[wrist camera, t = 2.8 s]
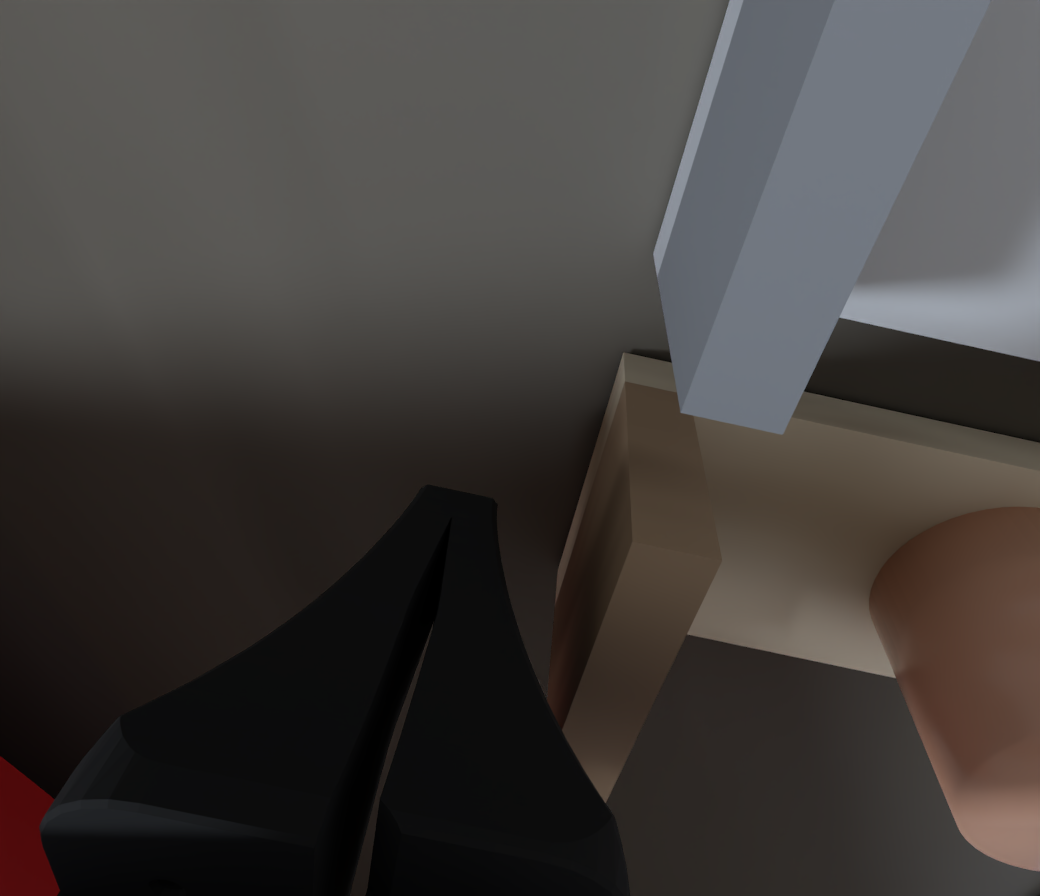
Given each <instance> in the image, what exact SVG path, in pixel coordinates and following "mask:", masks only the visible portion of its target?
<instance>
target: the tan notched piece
mask: <svg viewBox="0 0 1040 896" xmlns="http://www.w3.org/2000/svg"><path fill="white" fill-rule="evenodd" d="M1000 507H1036V508H1040V443H1038V442H1034V441H1029V440H1024V439H1020V438H1015V437H1011V436H1006V435H1001V434H997V433H992V432H988V431H983V430H978V429H974V428H969V427H965V426H960V425H955V424H951V423H946V422H942V421H937V420H932V419H928V418H923V417H919V416H914V415H910V414H905V413H900V412H896V411H891V410H887V409H882V408H877V407H873V406H868V405H864V404H859V403H854V402H850V401H845V400H841V399H836V398H831V397H827V396H822V395H818V394H813V393H808V392H803V394H802V396H801V398H800V400H799V402H798V404H797V406H796V408H795V410H794V412H793V415H792V417H791V419H790V421H789V423H788V425H787V427H786V429H785V431H784V433H783V435H781V434H776V433H772V432H767V431H762V430H758V429H753V428H748V427H744V426H739V425H735V424H730V423H725V422H721V421H716V420H711V419H707V418H702V417H698V416H693V415H688V414H684V413H681V412H680V407H679V401H678V395H677V389H676V383H675V378H674V372H673V366H672V363H671V362H666V361H661V360H657V359H652V358H648V357H643V356H638V355H634V354H629V353H625V352H623V356H622V359H621V362H620V366H619V369H618V372H617V375H616V379H615V382H614V385H613V389H612V392H611V395H610V399H609V402H608V405H607V409H606V412H605V415H604V419H603V422H602V425H601V428H600V432H599V435H598V438H597V442H596V445H595V448H594V452H593V455H592V458H591V462H590V465H589V468H588V472H587V475H586V478H585V481H584V485H583V488H582V491H581V495H580V498H579V501H578V505H577V508H576V511H575V515H574V518H573V521H572V525H571V528H570V531H569V534H568V538H567V541H566V544H565V548H564V551H563V554H562V558H561V561H560V564H559V568H558V573H557V585H556V597H555V609H554V622H553V634H552V646H551V659H550V671H549V683H548V696H547V702H548V704H549V706H550V708H551V710H552V712H553V714H554V716H555V718H556V720H557V722H558V724H559V726H560V728H561V730H562V732H563V734H564V736H565V738H566V739H567V741H568V743H569V745H570V746H571V748H572V750H573V752H574V753H575V755H576V757H577V759H578V760H579V762H580V764H581V765H582V767H583V769H584V771H585V772H586V774H587V775H588V777H589V779H590V780H591V782H592V783H593V785H594V786H595V788H596V790H597V791H598V793H599V794H600V796H601V797H602V799H603V800H604V802H605V803H606V802H607V800H608V798H609V795H610V793H611V791H612V789H613V787H614V785H615V783H616V781H617V779H618V777H619V775H620V773H621V770H622V768H623V766H624V764H625V762H626V760H627V758H628V756H629V754H630V752H631V750H632V748H633V745H634V743H635V741H636V739H637V737H638V735H639V733H640V731H641V729H642V727H643V725H644V723H645V721H646V718H647V716H648V714H649V712H650V710H651V708H652V706H653V704H654V702H655V700H656V698H657V696H658V693H659V691H660V689H661V687H662V685H663V683H664V681H665V679H666V677H667V675H668V673H669V671H670V668H671V666H672V664H673V662H674V660H675V658H676V656H677V654H678V652H679V650H680V648H681V646H682V643H683V641H684V639H685V637H686V635H692V636H697V637H702V638H706V639H711V640H716V641H721V642H725V643H730V644H735V645H740V646H744V647H749V648H754V649H759V650H764V651H768V652H773V653H778V654H783V655H787V656H792V657H797V658H802V659H806V660H811V661H816V662H821V663H826V664H830V665H835V666H840V667H845V668H849V669H854V670H859V671H864V672H869V673H873V674H878V675H883V676H888V677H892V678H896V677H895V675H894V672H893V670H892V667H891V665H890V663H889V660H888V658H887V655H886V653H885V651H884V648H883V646H882V643H881V641H880V638H879V636H878V634H877V631H876V629H875V626H874V624H873V622H872V619H871V615H870V611H869V597H870V592H871V588H872V585H873V583H874V580H875V578H876V576H877V575H878V573H879V571H880V569H881V568H882V567H883V565H884V564H885V563H886V562H887V560H888V559H889V558H890V557H891V556H892V555H893V554H894V553H895V552H896V551H897V550H898V549H899V548H901V547H902V546H903V545H904V544H906V543H907V542H908V541H909V540H911V539H912V538H914V537H916V536H917V535H919V534H920V533H922V532H924V531H925V530H927V529H929V528H931V527H933V526H935V525H937V524H940V523H942V522H944V521H947V520H949V519H952V518H955V517H958V516H961V515H964V514H967V513H972V512H976V511H981V510H985V509H993V508H1000Z"/></svg>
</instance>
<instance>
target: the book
mask: <svg viewBox="0 0 1040 896" xmlns="http://www.w3.org/2000/svg"><path fill="white" fill-rule="evenodd" d="M54 800H55V799H54V798H52V797H51V796H50V795H49V794H47V793H46V792H45V791H44V790H42V789H41V788H40V787H39V786H37V785H36V784H35V783H34V782H32V781H31V780H30V779H29V778H27V777H26V776H25V775H24V774H22V773H21V772H20V771H19V770H17V769H16V768H15V767H14V766H12V765H11V764H10V763H9V762H7V761H6V760H5V759H4V758H2V757H1V756H0V896H57V895H58V893H59V891H60V889H59V887H58V884H57V882H56V879H55V877H54V874H53V872H52V869H51V867H50V864H49V861H48V859H47V856H46V854H45V851H44V849H43V846H42V842H41V837H40V829H39V825H40V823H41V821H42V819H43V817H44V815H45V814H46V812H47V811H48V809H49V808H50V806H51V805H52V803H53V801H54Z"/></svg>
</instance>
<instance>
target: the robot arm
mask: <svg viewBox="0 0 1040 896" xmlns="http://www.w3.org/2000/svg"><path fill="white" fill-rule="evenodd" d="M497 506H498V505H497V503H496V502H495V501H494V499H493V498H488V497H484V496H479V495H474V494H470V493H465V492H460V491H455V490H451V489H446V488H441V487H437V486H432V485H426V486H424V487H423V488H421V489H420V491H419V492H418V494H417V495H416V497H415V498H414V500H413V501H412V502H411V504H410V505H409V506H408V508H407V509H406V510H405V511H404V513H403V514H402V515H401V516H400V518H399V519H398V520H397V521H396V522H395V523H394V525H393V526H392V527H391V528H390V529H389V530H388V531H387V532H386V534H385V535H384V536H383V537H382V538H381V539H380V540H379V541H378V542H377V543H376V544H375V545H374V546H373V547H372V549H371V550H370V551H369V552H368V553H367V554H366V555H365V556H364V557H363V558H362V559H361V560H360V561H358V562H357V563H356V564H355V565H354V566H353V567H352V568H351V569H350V570H349V571H348V572H347V573H346V574H345V575H343V576H342V577H341V578H340V579H339V580H338V581H337V582H336V583H335V584H334V585H332V586H331V587H330V588H329V589H328V590H327V591H325V592H324V593H323V594H322V595H321V596H319V597H318V598H317V599H316V600H315V601H313V602H312V603H311V604H310V605H308V606H307V607H306V608H304V609H303V610H302V611H301V612H299V613H298V614H297V615H295V616H294V617H293V618H291V619H290V620H288V621H287V622H286V623H284V624H283V625H281V626H280V627H278V628H277V629H276V630H274V631H273V632H271V633H270V634H269V635H267V636H266V637H264V638H263V639H261V640H260V641H258V642H257V643H255V644H254V645H252V646H250V647H249V648H247V649H246V650H244V651H243V652H241V653H239V654H237V655H236V656H234V657H232V658H231V659H229V660H227V661H225V662H224V663H222V664H220V665H219V666H217V667H215V668H213V669H212V670H210V671H208V672H207V673H205V674H203V675H202V676H200V677H198V678H196V679H194V680H193V681H191V682H189V683H187V684H185V685H183V686H181V687H179V688H177V689H175V690H173V691H171V692H169V693H167V694H165V695H163V696H161V697H159V698H157V699H155V700H153V701H151V702H149V703H147V704H144V705H142V706H140V707H138V708H136V709H134V710H132V711H130V712H128V713H126V714H124V715H121V716H119V717H118V718H117V719H116V720H115V722H114V723H113V724H112V725H111V726H110V727H109V728H108V729H107V731H106V732H105V733H104V734H103V735H102V736H101V738H100V739H99V740H98V741H97V742H96V744H95V745H94V746H93V747H92V748H91V749H90V751H89V752H88V753H87V754H86V755H85V756H84V758H83V759H82V760H81V762H80V763H79V764H78V766H77V767H76V769H75V770H74V771H73V773H72V774H71V776H70V777H69V779H68V780H67V782H66V783H65V785H64V786H63V788H62V789H61V791H60V792H59V794H58V795H57V797H56V798H55V800H54V801H53V803H52V805H51V806H50V808H49V809H48V811H47V812H46V814H45V815H44V817H43V819H42V821H41V823H40V825H39V829H40V837H41V842H42V846H43V849H44V851H45V854H46V856H47V859H48V861H49V864H50V867H51V869H52V872H53V874H54V877H55V879H56V882H57V884H58V887H59V889H60V891H59V893H58V895H57V896H349V895H350V891H351V887H352V884H353V880H354V876H355V872H356V868H357V864H358V860H359V856H360V853H361V849H362V845H363V841H364V837H365V833H366V830H367V826H368V822H369V818H370V814H371V811H372V807H373V803H374V799H375V795H376V792H377V788H378V784H379V780H380V777H381V773H382V769H383V765H384V762H385V758H386V754H387V750H388V747H389V744H390V741H391V738H392V734H393V731H394V728H395V725H396V722H397V720H398V717H399V714H400V711H401V709H402V706H403V703H404V701H405V698H406V695H407V692H408V690H409V687H410V684H411V682H412V679H413V676H414V673H415V671H416V668H417V665H418V663H419V660H420V657H421V654H422V652H423V649H424V646H425V643H426V641H427V638H428V635H429V632H430V630H431V627H432V624H433V621H434V624H433V630H432V633H431V637H430V640H429V644H428V647H427V651H426V654H425V657H424V661H423V664H422V667H421V671H420V674H419V678H418V681H417V684H416V688H415V691H414V694H413V697H412V701H411V704H410V707H409V710H408V714H407V717H406V720H405V723H404V727H403V730H402V733H401V736H400V739H399V742H398V745H397V749H396V752H395V755H394V758H393V761H392V764H391V767H390V770H389V773H388V776H387V779H386V783H385V786H384V788H383V791H382V794H381V797H380V802H379V810H378V817H377V824H376V831H375V839H374V846H373V853H372V860H371V868H370V875H369V882H368V889H367V893H366V896H630V890H629V882H628V875H627V868H626V863H625V858H624V853H623V848H622V844H621V839H620V835H619V831H618V827H617V823H616V820H615V817H614V815H613V814H612V812H611V811H610V809H609V808H608V806H607V805H606V803H605V802H604V800H603V799H602V797H601V796H600V794H599V793H598V791H597V790H596V788H595V786H594V785H593V783H592V782H591V780H590V779H589V777H588V775H587V774H586V772H585V771H584V769H583V767H582V765H581V764H580V762H579V760H578V759H577V757H576V755H575V753H574V752H573V750H572V748H571V746H570V745H569V743H568V741H567V739H566V738H565V736H564V734H563V732H562V730H561V728H560V726H559V724H558V722H557V720H556V718H555V716H554V714H553V712H552V710H551V708H550V706H549V704H548V702H547V700H546V698H545V696H544V694H543V691H542V689H541V687H540V684H539V682H538V680H537V677H536V675H535V673H534V670H533V668H532V665H531V663H530V660H529V658H528V655H527V652H526V650H525V647H524V644H523V641H522V639H521V636H520V633H519V629H518V626H517V623H516V620H515V616H514V613H513V610H512V606H511V603H510V599H509V595H508V591H507V587H506V582H505V577H504V572H503V568H502V563H501V557H500V551H499V543H498V534H497Z"/></svg>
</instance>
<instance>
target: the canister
mask: <svg viewBox="0 0 1040 896" xmlns="http://www.w3.org/2000/svg"><path fill="white" fill-rule="evenodd" d="M869 611H870V615H871V619H872V622H873V624H874V626H875V629H876V631H877V634H878V636H879V638H880V641H881V643H882V646H883V648H884V651H885V653H886V655H887V658H888V660H889V663H890V665H891V667H892V670H893V672H894V675H895V677H896V679H897V682H898V684H899V687H900V689H901V692H902V694H903V696H904V699H905V701H906V704H907V706H908V708H909V711H910V713H911V716H912V718H913V720H914V723H915V725H916V728H917V730H918V732H919V735H920V737H921V740H922V742H923V745H924V747H925V749H926V752H927V754H928V757H929V759H930V761H931V764H932V766H933V769H934V771H935V773H936V776H937V778H938V781H939V783H940V786H941V788H942V790H943V793H944V795H945V798H946V800H947V802H948V805H949V807H950V810H951V812H952V814H953V817H954V819H955V822H956V824H957V826H958V828H959V831H960V832H961V834H962V835H963V836H964V838H965V839H966V840H967V841H968V842H969V843H970V844H971V845H972V846H974V847H975V848H976V849H978V850H979V851H981V852H982V853H984V854H985V855H987V856H989V857H992V858H994V859H996V860H998V861H1001V862H1004V863H1006V864H1009V865H1012V866H1016V867H1020V868H1024V869H1028V870H1034V871H1040V508H1036V507H1000V508H993V509H985V510H981V511H976V512H972V513H967V514H964V515H961V516H958V517H955V518H952V519H949V520H947V521H944V522H942V523H940V524H937V525H935V526H933V527H931V528H929V529H927V530H925V531H924V532H922V533H920V534H919V535H917V536H916V537H914V538H912V539H911V540H909V541H908V542H907V543H906V544H904V545H903V546H902V547H901V548H899V549H898V550H897V551H896V552H895V553H894V554H893V555H892V556H891V557H890V558H889V559H888V560H887V562H886V563H885V564H884V565H883V567H882V568H881V569H880V571H879V573H878V575H877V576H876V578H875V580H874V583H873V585H872V588H871V592H870V597H869Z"/></svg>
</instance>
